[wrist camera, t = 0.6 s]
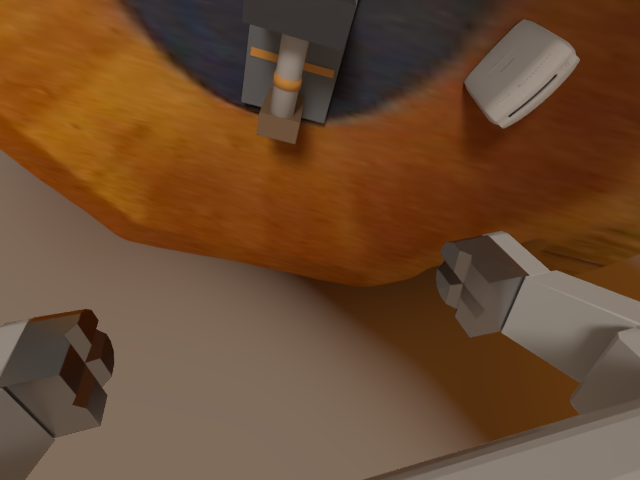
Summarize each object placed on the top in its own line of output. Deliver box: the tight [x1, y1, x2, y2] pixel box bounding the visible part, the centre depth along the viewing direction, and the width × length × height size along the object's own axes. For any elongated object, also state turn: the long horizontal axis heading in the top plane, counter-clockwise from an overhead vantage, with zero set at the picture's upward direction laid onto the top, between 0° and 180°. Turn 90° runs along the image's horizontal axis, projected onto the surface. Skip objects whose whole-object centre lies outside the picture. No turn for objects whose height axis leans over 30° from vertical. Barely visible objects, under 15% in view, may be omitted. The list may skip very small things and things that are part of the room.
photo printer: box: [464, 19, 580, 129], centre depth 43 cm, size 10×4×12 cm, turn 145°
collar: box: [242, 0, 356, 51], centre depth 38 cm, size 4×10×10 cm, turn 76°
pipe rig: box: [241, 0, 358, 144], centre depth 42 cm, size 24×12×10 cm, turn 166°
